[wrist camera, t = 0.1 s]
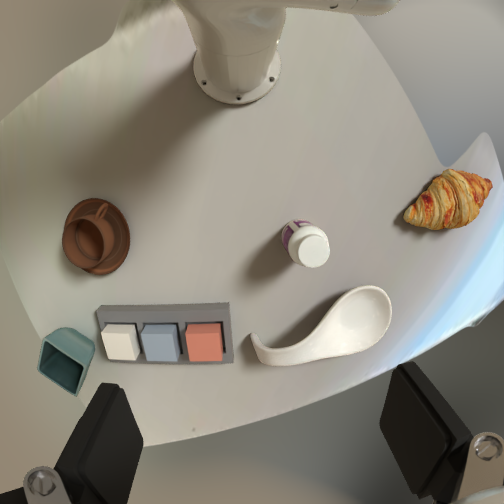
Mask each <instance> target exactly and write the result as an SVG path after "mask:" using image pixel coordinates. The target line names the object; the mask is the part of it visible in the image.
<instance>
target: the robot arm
mask: <svg viewBox="0 0 504 504" xmlns="http://www.w3.org/2000/svg"><path fill="white" fill-rule="evenodd" d="M172 1H173V2H174V3H175V4H176V5H177V6H178V7H179V8H180V10H181V11H182V12H183V14H184V16H185V18H186V21H187V23H188V26H189V29H190V32H191V34H192V37H193V40H194V43H195V46H196V48H197V53H196V55H195V58H194V64H193V69H194V75H195V78H196V81H197V83H198V85H199V86H200V87H201V89H202V90H203V91H204V92H205V93H206V94H207V95H208V96H210V97H212V98H213V99H215V100H217V101H220V102H223V103H227V104H245V103H250V102H253V101H256V100H258V99H260V98H262V97H263V96H265V95H266V94H267V93H268V92H270V91H271V89H272V88H273V87H274V86H275V84H276V82H277V80H278V78H279V75H280V71H281V59H280V56H279V52H278V51H277V46H278V42H279V39H280V36H281V33H282V30H283V27H284V24H285V20H286V8H287V7H288V8H304V9H315V10H324V11H332V12H340V13H348V14H355V15H363V16H377V15H382V14H384V13H387V12H389V11H390V10H392V9H393V8H394V7H395V6H396V5H397V4H398V3H399V1H400V0H172ZM269 80H273V82H270V81H269ZM203 83H206V85H203ZM237 98H240V100H237ZM380 429H381V431H382V433H383V435H384V437H385V439H386V441H387V443H388V445H389V447H390V449H391V451H392V453H393V455H394V457H395V459H396V461H397V463H398V465H399V467H400V469H401V472H402V474H403V476H404V478H405V480H406V482H407V484H408V486H409V488H410V490H411V492H412V493H413V494H417V496H418V498H419V499H421V498H424V497H426V496H429V495H432V497H433V499H434V501H433V504H504V440H503V439H502V438H501V437H500V436H498V435H496V434H494V433H489V432H488V433H487V432H486V433H485V432H484V433H481V434H478V435H477V436H475V437H473V436H472V434H471V432H470V431H469V429H468V428H467V427H466V426H465V424H464V423H463V422H462V420H461V419H460V418H459V416H458V415H457V414H456V413H455V411H454V410H453V409H452V408H451V406H450V405H449V404H448V402H447V401H446V400H445V399H444V398H443V396H442V395H441V394H440V393H439V391H438V390H437V389H436V388H435V386H434V385H433V384H432V383H431V381H430V380H429V379H428V378H427V376H426V375H425V374H424V373H423V372H422V371H421V369H420V368H419V367H418V366H417V365H416V363H415V362H407V363H403V364H399V365H398V366H397V368H396V369H394V370H393V372H392V376H391V381H390V385H389V389H388V393H387V396H386V400H385V404H384V408H383V411H382V415H381V418H380ZM142 448H143V437H142V435H141V433H140V430H139V428H138V425H137V423H136V421H135V418H134V416H133V413H132V410H131V408H130V405H129V403H128V400H127V397H126V394H125V392H124V390H123V389H122V388H120V387H119V385H118V384H112V383H101V384H100V386H99V387H98V389H97V391H96V393H95V394H94V396H93V398H92V400H91V401H90V403H89V405H88V407H87V409H86V411H85V412H84V414H83V416H82V417H81V418H80V419H79V421H78V423H77V425H76V427H75V429H74V431H73V432H72V434H71V436H70V438H69V440H68V442H67V444H66V446H65V448H64V450H63V451H62V453H61V455H60V457H59V459H58V461H57V463H56V465H55V467H54V469H52V468H50V467H46V466H40V467H36V468H33V469H31V470H30V471H29V472H28V473H27V474H26V476H25V477H24V481H23V487H21V488H18V489H15V490H12V491H9V492H5V493H2V494H0V504H127V502H128V498H129V494H130V491H131V487H132V483H133V480H134V476H135V473H136V469H137V465H138V462H139V459H140V455H141V451H142Z"/></svg>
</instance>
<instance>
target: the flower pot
mask: <svg viewBox="0 0 504 504" xmlns="http://www.w3.org/2000/svg"><path fill="white" fill-rule="evenodd" d="M94 352H95V345H94V342H93V341H92V340H90V339H88V338H87V337H85V336H84V335H82V334H81V333H79V332H78V331H76V330H75V329H72V328H60V329H57V330H55V331H54V332H52V333H51V334H49V335H48V336H46V337H45V338H43V341H42V346H41V351H40V356H39V361H38V367H37V369H38V371H39V372H40V373H41V374H42V375H44V376H45V377H47V378H48V379H50V380H51V381H53V382H54V383H56V384H57V385H59V386H60V387H61V388H63V389H64V390H66V391H67V392H69V393H71V394H72V395H74V396H76V397H77V395H78V393H79V391H80V389H81V387H82V385H83V382H84V380H85V378H86V375H87V371H88V368H89V366H90V363H91V360H92V357H93V355H94Z"/></svg>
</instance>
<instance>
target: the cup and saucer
mask: <svg viewBox="0 0 504 504" xmlns="http://www.w3.org/2000/svg"><path fill="white" fill-rule="evenodd" d="M62 244H63V249H64V252H65V254H66V256H67V258H68V259H69V260H70V261H71V262H72V263H73V264H74V265H76V266H77V267H80V268H82V269H83V270H85V271H86V272H89V273H92V274H97V275H103V274H108V273H111V272H113V271H115V270H116V269H117V268H119V267H120V266H121V264H122V263H123V262H124V260H125V258H126V256H127V254H128V251H129V247H130V232H129V227H128V224H127V222H126V220H125V218H124V216H123V214H122V213H121V212H120V211H119V209H118V208H117V207H116V206H114V205H113V204H111V203H110V202H108V201H105V200H103V199H98V198H91V199H86V200H83V201H81V202H79V203H78V204H77V205H75V206H74V207H73V209H72V210H71V211H70V213H69V214H68V216H67V219H66V222H65V226H64V232H63V237H62Z"/></svg>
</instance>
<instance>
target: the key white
mask: <svg viewBox="0 0 504 504" xmlns="http://www.w3.org/2000/svg"><path fill="white" fill-rule="evenodd" d="M101 335H102V339H103V342H104V346H105V349H106V352H107V356H108V359H116V360H136V359H137V357H138V355H139V353H140V346H139V342H138V338H137V334H136V329H135V325H116V324H107V326H106V327H105V328H104V330H103V331H102V332H101Z"/></svg>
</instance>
